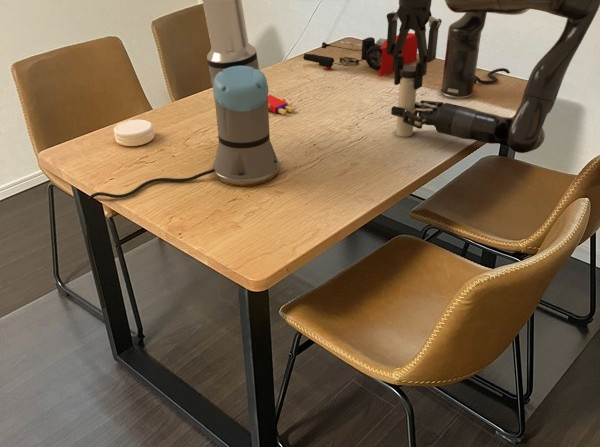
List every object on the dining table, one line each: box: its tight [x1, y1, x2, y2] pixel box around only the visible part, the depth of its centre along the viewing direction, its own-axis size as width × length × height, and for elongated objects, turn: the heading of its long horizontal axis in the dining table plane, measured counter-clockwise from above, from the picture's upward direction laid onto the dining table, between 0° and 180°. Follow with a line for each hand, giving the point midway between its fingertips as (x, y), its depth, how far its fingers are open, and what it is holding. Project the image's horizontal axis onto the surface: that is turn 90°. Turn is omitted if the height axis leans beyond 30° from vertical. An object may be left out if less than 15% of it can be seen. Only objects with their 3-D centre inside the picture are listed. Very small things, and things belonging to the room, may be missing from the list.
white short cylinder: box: [113, 118, 155, 147], centre depth 161 cm, size 10×10×4 cm
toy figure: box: [268, 94, 294, 115], centre depth 178 cm, size 2×7×12 cm
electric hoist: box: [302, 32, 418, 77], centre depth 210 cm, size 10×27×30 cm
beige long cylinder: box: [395, 77, 417, 138], centre depth 158 cm, size 4×4×16 cm
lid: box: [399, 64, 416, 79], centre depth 154 cm, size 5×5×2 cm
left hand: (407, 85), depth 156 cm, fingers closed on lid, 5 cm apart
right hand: (396, 107), depth 160 cm, fingers closed on beige long cylinder, 4 cm apart
